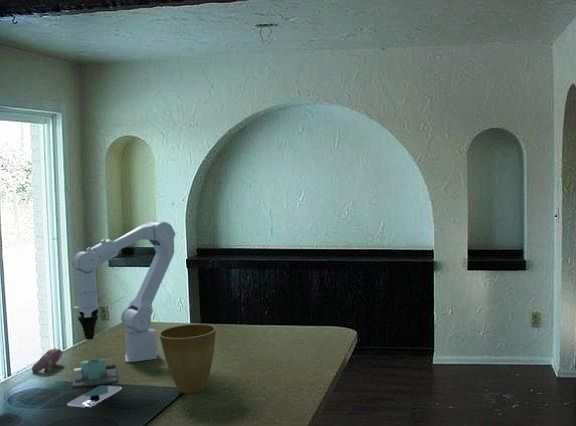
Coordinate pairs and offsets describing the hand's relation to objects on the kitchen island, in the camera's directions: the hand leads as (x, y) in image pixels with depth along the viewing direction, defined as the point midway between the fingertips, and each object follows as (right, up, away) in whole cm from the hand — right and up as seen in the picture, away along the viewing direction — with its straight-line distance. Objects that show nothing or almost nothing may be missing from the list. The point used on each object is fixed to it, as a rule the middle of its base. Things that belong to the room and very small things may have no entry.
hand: (89, 336), depth 200 cm
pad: (+4, -10, -10) cm, 15 cm away
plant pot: (+34, -10, -22) cm, 42 cm away
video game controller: (-13, -11, +3) cm, 17 cm away
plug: (+4, -10, -10) cm, 14 cm away
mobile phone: (+9, -12, -25) cm, 29 cm away
